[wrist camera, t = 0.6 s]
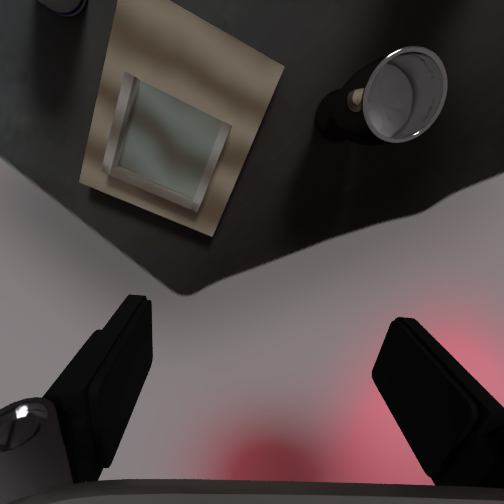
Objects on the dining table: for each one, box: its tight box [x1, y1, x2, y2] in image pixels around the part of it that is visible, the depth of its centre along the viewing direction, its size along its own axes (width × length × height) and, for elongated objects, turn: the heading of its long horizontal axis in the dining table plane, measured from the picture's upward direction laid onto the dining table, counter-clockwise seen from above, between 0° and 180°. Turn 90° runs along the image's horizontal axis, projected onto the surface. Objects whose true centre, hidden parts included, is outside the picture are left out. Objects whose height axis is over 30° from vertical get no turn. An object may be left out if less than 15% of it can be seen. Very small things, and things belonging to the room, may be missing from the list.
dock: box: [79, 0, 284, 237], centre depth 32 cm, size 22×18×5 cm
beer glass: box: [316, 46, 448, 146], centre depth 27 cm, size 7×7×15 cm
